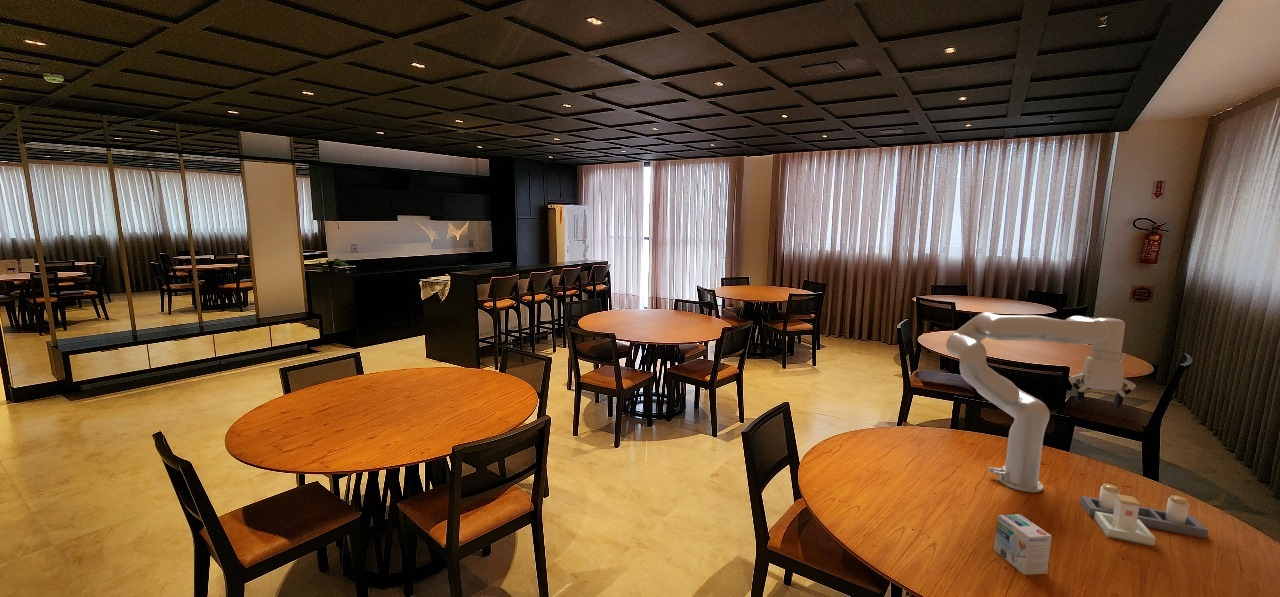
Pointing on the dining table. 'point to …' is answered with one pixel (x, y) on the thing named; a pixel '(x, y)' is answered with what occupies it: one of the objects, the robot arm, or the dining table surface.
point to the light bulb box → (1022, 544)
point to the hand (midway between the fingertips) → (1098, 404)
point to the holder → (1152, 519)
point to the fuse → (1125, 513)
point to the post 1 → (1107, 496)
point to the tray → (1138, 536)
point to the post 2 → (1177, 509)
